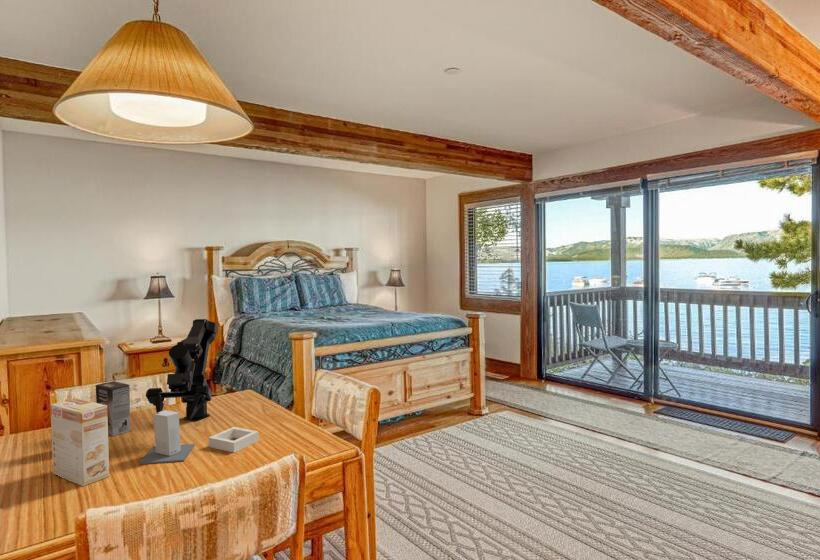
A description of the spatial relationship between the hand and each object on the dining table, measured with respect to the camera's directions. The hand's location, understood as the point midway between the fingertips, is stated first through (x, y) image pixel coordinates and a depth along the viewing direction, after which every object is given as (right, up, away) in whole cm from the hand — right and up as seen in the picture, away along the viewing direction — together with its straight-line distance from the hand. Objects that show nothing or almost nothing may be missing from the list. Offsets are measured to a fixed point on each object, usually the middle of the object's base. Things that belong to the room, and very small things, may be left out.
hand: (174, 419), depth 151 cm
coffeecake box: (-15, -10, -20) cm, 27 cm away
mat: (+1, -9, -6) cm, 11 cm away
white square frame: (+18, -8, +2) cm, 20 cm away
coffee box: (-27, -8, +13) cm, 31 cm away
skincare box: (+1, -8, -6) cm, 10 cm away
